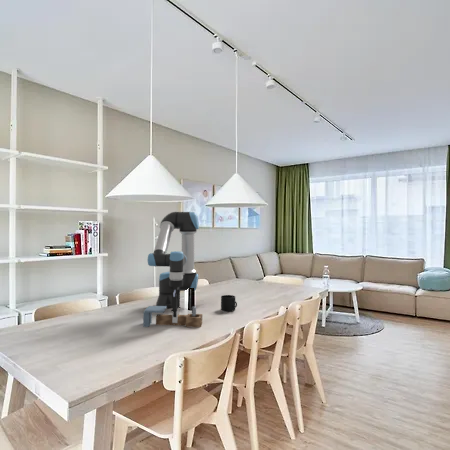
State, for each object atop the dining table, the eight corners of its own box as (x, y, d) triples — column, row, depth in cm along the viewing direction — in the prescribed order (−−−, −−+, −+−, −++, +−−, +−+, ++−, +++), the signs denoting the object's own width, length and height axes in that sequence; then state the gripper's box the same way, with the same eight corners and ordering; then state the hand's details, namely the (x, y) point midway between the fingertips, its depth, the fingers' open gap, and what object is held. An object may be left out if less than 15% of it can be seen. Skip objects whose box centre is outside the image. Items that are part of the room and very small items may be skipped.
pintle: (190, 324, 184) (190, 306, 184) (193, 323, 186) (193, 306, 186) (194, 325, 182) (194, 307, 182) (196, 324, 184) (196, 306, 185)
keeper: (166, 321, 189) (166, 306, 189) (163, 327, 178) (163, 310, 178) (146, 321, 189) (147, 305, 189) (142, 327, 178) (142, 310, 178)
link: (154, 326, 181) (154, 316, 181) (158, 321, 189) (158, 313, 189) (200, 327, 180) (201, 317, 180) (202, 322, 188) (202, 313, 188)
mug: (232, 313, 210) (232, 299, 210) (217, 310, 217) (218, 296, 218) (241, 310, 217) (241, 296, 217) (227, 307, 225) (227, 294, 225)
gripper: (180, 282, 176) (179, 326, 176) (185, 277, 193) (184, 317, 193) (166, 281, 176) (165, 325, 176) (172, 277, 193) (171, 317, 193)
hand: (175, 321), depth 184 cm, fingers open, 4 cm apart
